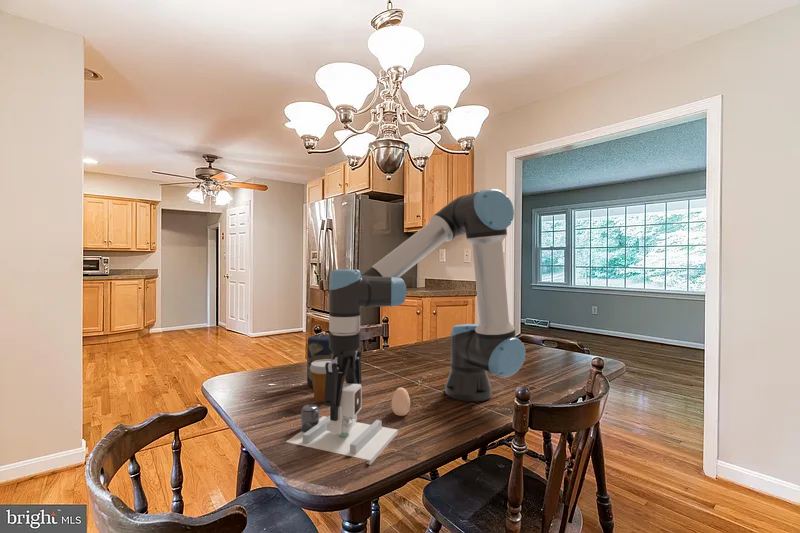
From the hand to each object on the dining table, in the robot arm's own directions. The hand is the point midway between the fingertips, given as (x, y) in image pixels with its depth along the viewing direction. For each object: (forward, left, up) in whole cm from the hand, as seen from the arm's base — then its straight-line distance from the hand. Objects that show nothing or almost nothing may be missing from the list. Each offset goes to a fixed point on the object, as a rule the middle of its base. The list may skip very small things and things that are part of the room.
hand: (343, 426), depth 93 cm
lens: (+10, 0, -2) cm, 10 cm away
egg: (-8, -18, -4) cm, 20 cm away
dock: (0, 0, -3) cm, 3 cm away
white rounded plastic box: (0, 0, 0) cm, 0 cm away
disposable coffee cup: (+18, -20, -4) cm, 27 cm away
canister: (+28, -33, -4) cm, 43 cm away
